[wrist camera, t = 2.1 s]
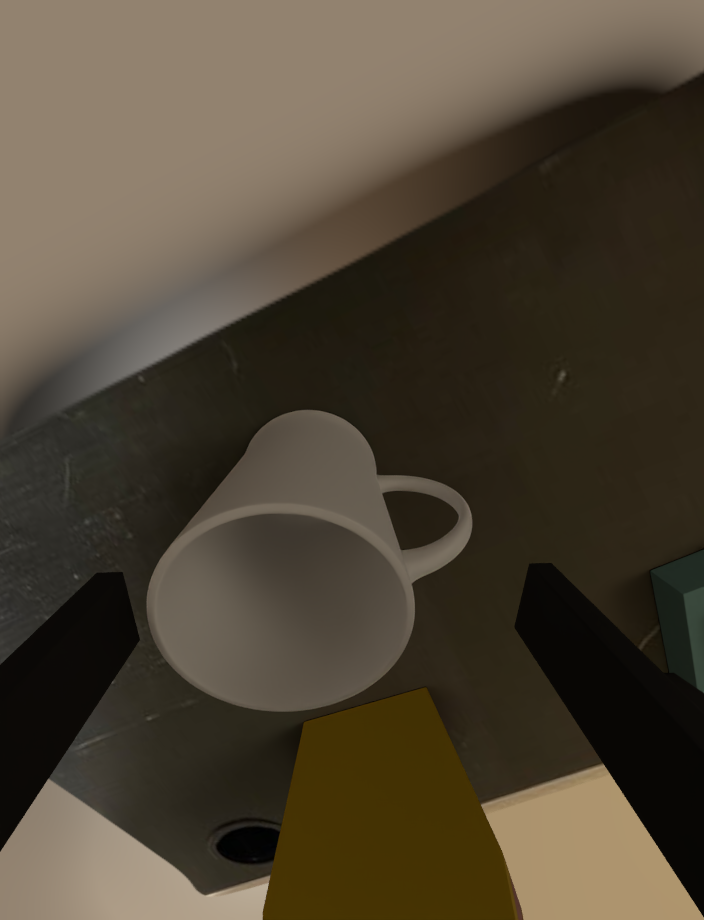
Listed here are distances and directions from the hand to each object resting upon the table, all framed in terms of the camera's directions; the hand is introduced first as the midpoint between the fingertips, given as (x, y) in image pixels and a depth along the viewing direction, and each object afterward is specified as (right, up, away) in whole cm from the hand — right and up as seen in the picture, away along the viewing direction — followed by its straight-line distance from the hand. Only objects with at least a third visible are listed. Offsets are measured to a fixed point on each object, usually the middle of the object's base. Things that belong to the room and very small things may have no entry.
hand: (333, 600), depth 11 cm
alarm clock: (+3, -21, +19) cm, 29 cm away
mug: (-1, +4, +11) cm, 11 cm away
